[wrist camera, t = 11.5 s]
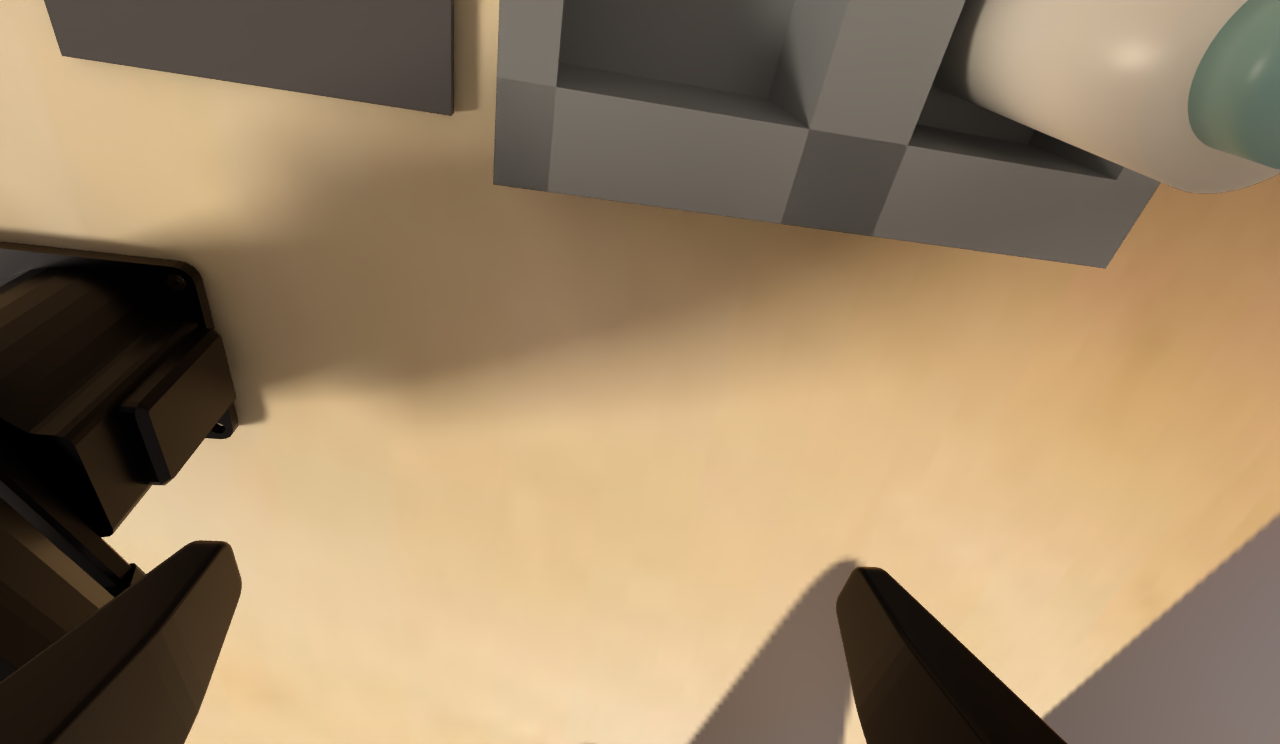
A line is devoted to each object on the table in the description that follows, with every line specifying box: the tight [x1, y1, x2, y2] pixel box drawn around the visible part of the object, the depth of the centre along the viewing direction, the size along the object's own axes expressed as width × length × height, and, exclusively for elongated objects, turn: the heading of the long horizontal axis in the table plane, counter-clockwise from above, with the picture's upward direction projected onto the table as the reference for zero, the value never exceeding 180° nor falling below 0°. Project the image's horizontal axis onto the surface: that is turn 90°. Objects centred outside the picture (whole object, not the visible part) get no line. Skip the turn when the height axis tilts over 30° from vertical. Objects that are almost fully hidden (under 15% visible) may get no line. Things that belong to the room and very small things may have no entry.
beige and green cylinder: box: [933, 0, 1280, 194], centre depth 12 cm, size 4×4×9 cm
